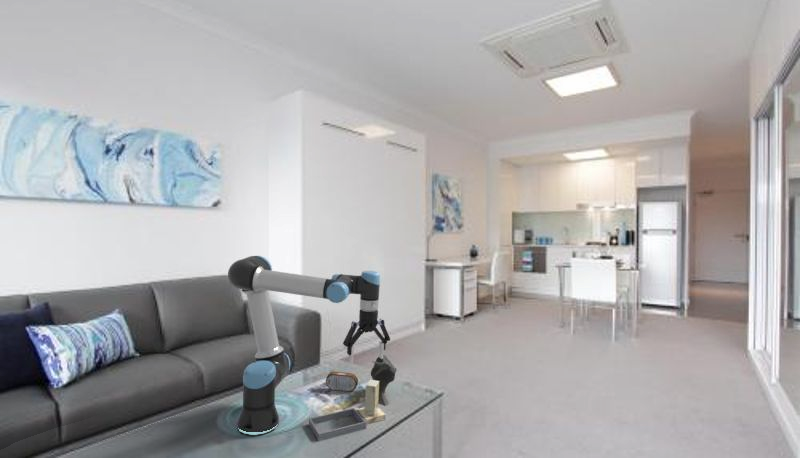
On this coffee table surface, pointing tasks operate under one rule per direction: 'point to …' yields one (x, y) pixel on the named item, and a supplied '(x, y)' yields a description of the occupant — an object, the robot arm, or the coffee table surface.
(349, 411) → the tray
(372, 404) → the skincare box
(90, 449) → the coffee table surface
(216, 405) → the coffee table surface
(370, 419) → the pad
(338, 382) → the portable speaker
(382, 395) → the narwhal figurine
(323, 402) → the coffee table surface
